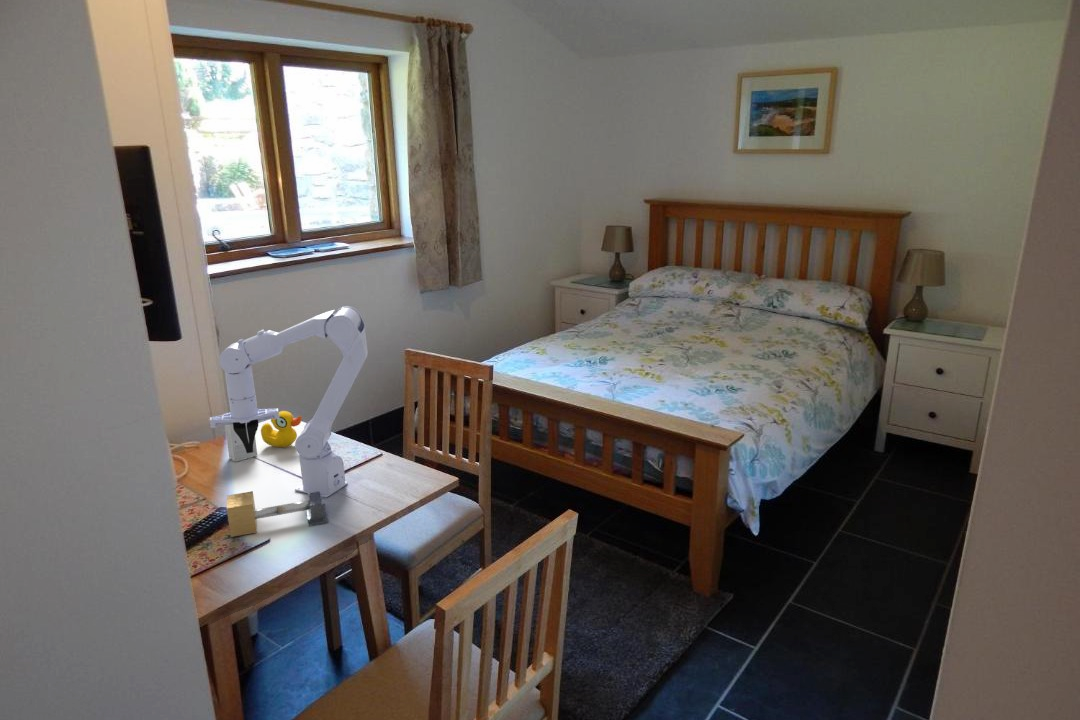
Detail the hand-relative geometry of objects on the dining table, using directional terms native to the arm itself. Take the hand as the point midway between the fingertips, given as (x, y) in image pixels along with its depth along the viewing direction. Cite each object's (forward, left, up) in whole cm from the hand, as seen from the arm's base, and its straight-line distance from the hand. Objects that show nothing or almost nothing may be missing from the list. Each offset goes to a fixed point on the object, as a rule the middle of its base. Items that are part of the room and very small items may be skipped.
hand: (249, 451), depth 165 cm
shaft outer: (-13, +13, -8) cm, 20 cm away
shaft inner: (-20, +6, -8) cm, 22 cm away
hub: (-11, +15, -10) cm, 21 cm away
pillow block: (-22, +4, -10) cm, 24 cm away
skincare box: (+17, -13, -10) cm, 24 cm away
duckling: (+12, -22, -10) cm, 27 cm away
